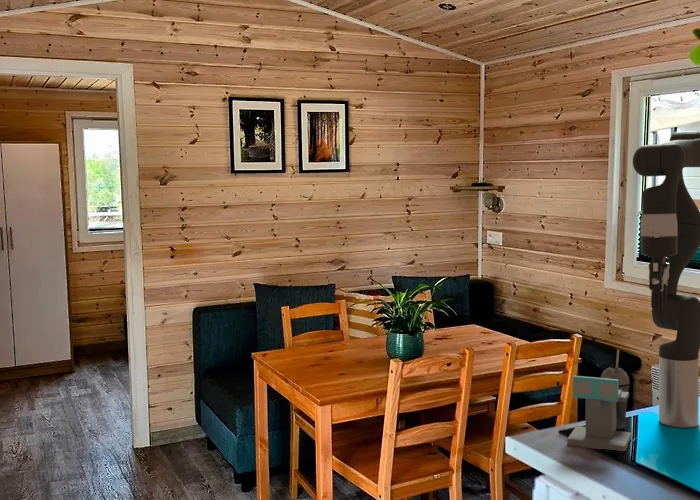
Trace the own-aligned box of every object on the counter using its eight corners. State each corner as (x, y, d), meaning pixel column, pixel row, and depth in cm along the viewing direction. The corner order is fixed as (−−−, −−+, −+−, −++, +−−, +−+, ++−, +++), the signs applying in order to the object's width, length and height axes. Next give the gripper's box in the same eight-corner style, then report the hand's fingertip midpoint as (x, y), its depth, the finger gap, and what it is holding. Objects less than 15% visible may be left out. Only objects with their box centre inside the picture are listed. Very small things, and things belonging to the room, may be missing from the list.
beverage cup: (593, 424, 184) (593, 348, 183) (617, 421, 186) (616, 345, 185) (612, 433, 177) (611, 354, 176) (636, 429, 179) (636, 351, 178)
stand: (576, 431, 179) (576, 384, 178) (631, 438, 173) (631, 390, 172) (567, 444, 170) (566, 395, 169) (624, 452, 164) (624, 401, 163)
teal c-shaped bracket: (579, 389, 176) (579, 369, 175) (622, 393, 171) (622, 373, 170) (573, 397, 169) (573, 376, 169) (617, 401, 165) (617, 380, 164)
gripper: (645, 232, 167) (645, 300, 168) (636, 235, 155) (636, 309, 156) (680, 232, 164) (680, 301, 165) (674, 235, 151) (674, 311, 152)
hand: (659, 305), depth 160 cm, fingers open, 8 cm apart
